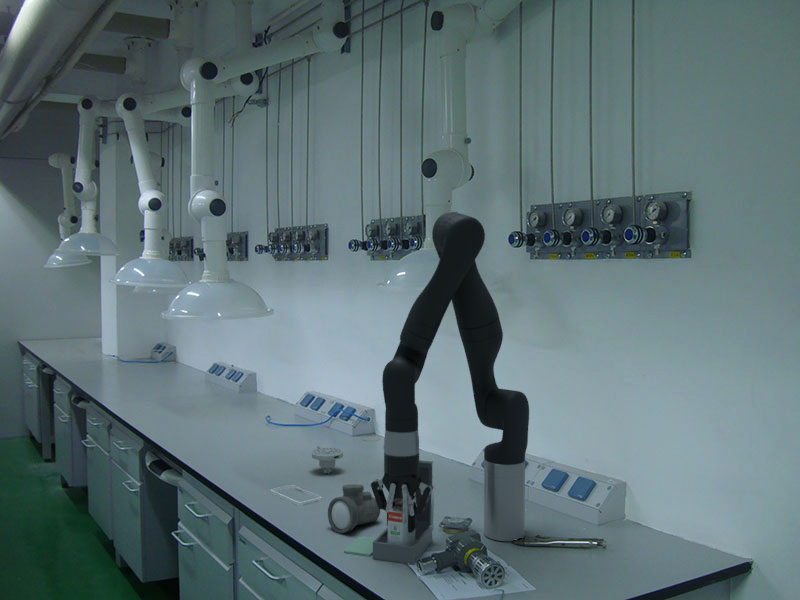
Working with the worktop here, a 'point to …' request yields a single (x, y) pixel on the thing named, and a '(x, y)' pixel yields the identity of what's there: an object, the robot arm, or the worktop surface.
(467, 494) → the worktop surface
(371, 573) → the worktop surface
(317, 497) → the phone case
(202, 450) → the worktop surface
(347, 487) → the pipe fitting
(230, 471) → the worktop surface
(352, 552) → the mat
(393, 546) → the case
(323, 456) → the showerhead
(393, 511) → the ink box
